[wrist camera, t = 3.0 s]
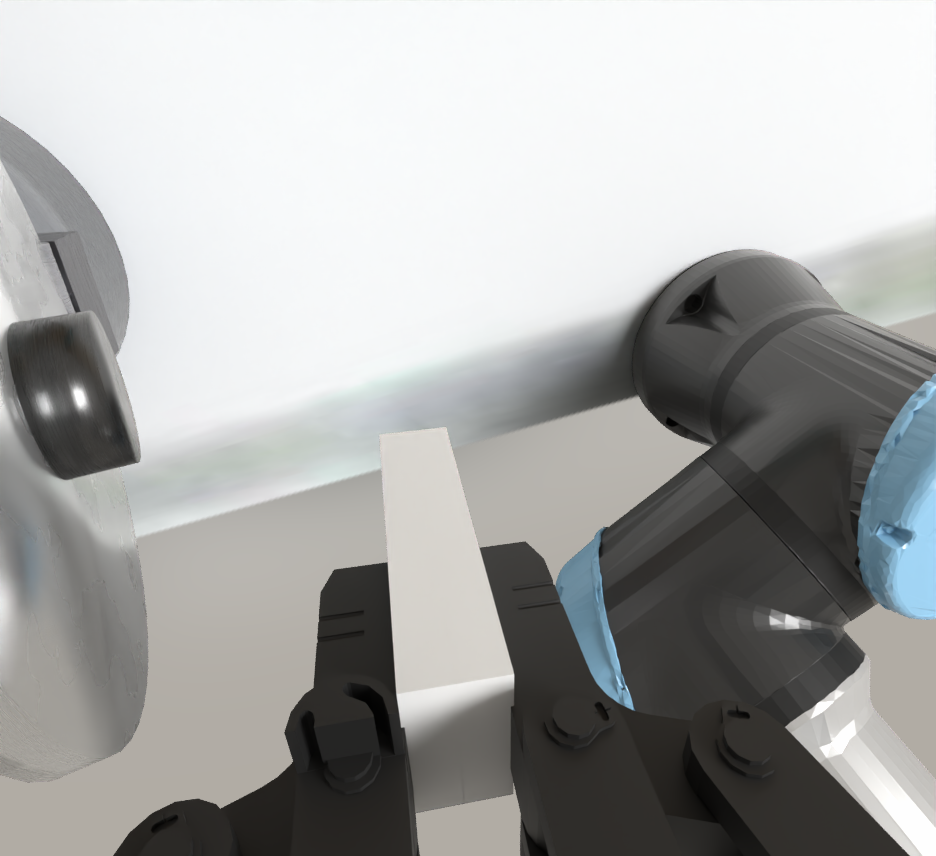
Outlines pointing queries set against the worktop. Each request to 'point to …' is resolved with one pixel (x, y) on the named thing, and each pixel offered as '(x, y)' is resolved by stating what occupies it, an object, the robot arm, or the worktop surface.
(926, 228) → the worktop surface
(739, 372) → the robot arm
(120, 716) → the lid
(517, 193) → the worktop surface
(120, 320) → the pot
